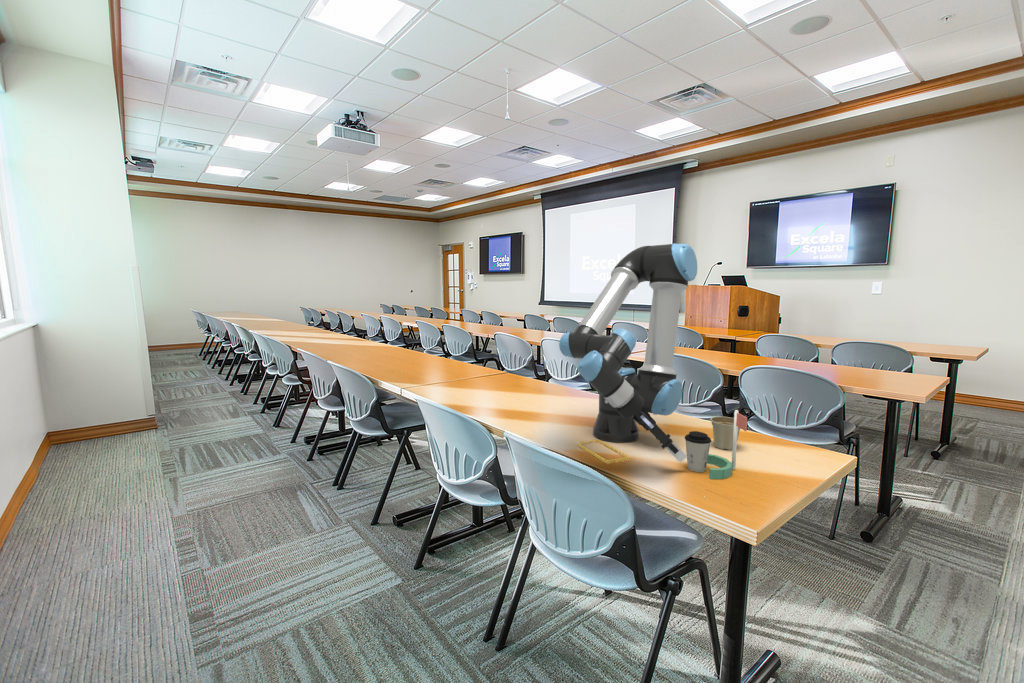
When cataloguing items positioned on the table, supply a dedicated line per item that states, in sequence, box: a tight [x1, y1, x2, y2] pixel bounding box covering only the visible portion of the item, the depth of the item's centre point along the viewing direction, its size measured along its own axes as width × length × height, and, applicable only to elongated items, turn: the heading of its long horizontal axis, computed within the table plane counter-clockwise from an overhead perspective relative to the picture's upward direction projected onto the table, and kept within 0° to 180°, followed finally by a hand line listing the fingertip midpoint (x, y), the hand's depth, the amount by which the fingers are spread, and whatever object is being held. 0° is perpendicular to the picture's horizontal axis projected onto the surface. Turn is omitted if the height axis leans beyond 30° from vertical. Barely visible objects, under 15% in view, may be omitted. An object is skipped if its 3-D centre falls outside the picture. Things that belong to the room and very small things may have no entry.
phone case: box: [577, 439, 630, 464], centre depth 139 cm, size 8×17×1 cm, turn 22°
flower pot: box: [709, 416, 742, 451], centre depth 143 cm, size 9×9×9 cm
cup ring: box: [707, 453, 733, 480], centre depth 125 cm, size 12×8×2 cm, turn 1°
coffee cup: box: [684, 430, 712, 473], centre depth 125 cm, size 7×7×10 cm
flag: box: [731, 409, 748, 471], centre depth 122 cm, size 6×1×17 cm, turn 1°
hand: (683, 458), depth 124 cm, fingers closed
